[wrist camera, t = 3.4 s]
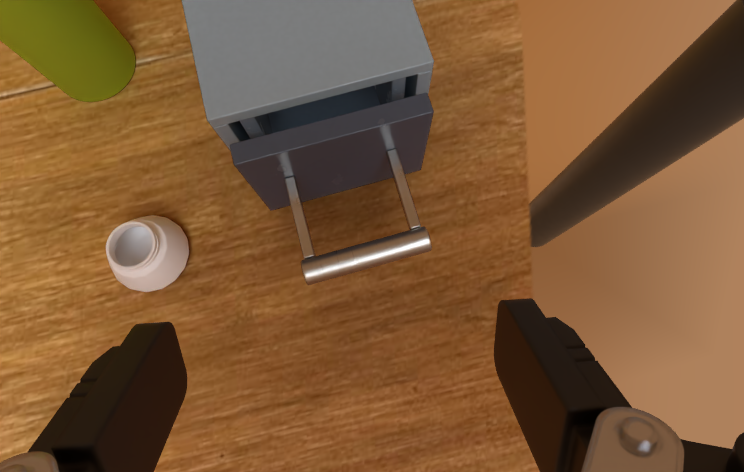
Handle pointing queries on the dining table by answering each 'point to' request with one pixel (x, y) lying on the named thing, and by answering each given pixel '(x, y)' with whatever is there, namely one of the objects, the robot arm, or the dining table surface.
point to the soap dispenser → (69, 45)
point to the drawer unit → (299, 53)
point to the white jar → (147, 252)
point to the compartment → (340, 165)
